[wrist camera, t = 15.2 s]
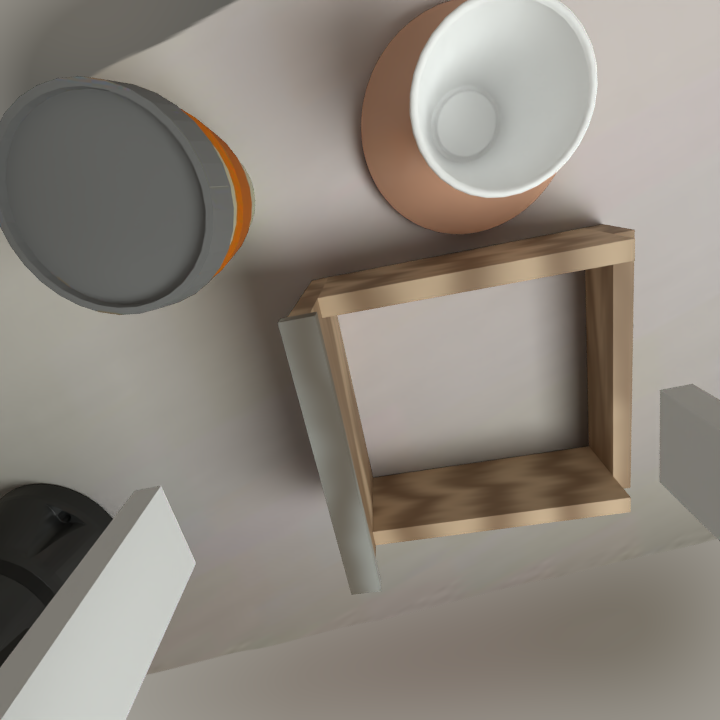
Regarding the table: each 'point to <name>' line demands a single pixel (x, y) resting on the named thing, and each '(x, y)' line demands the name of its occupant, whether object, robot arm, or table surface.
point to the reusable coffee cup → (118, 194)
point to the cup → (503, 94)
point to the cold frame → (483, 479)
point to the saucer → (400, 151)
